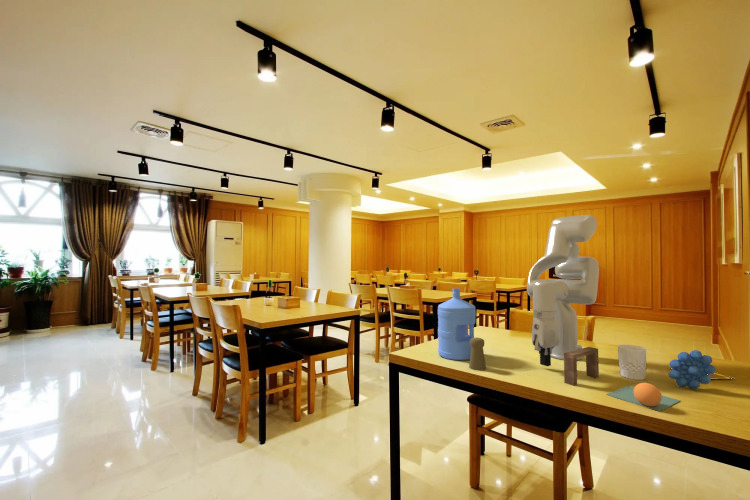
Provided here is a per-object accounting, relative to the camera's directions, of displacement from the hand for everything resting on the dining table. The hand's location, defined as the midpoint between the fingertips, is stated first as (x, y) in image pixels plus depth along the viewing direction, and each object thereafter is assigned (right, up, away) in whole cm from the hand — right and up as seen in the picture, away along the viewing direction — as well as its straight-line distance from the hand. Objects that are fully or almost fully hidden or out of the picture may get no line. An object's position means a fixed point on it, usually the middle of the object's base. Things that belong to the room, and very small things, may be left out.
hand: (545, 365), depth 124 cm
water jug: (-28, -2, +18) cm, 34 cm away
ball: (+12, +2, -31) cm, 33 cm away
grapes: (+36, -1, -19) cm, 41 cm away
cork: (-24, -2, +2) cm, 24 cm away
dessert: (+51, -2, -6) cm, 51 cm away
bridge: (+6, -1, -11) cm, 13 cm away
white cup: (+26, -1, -8) cm, 27 cm away
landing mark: (+15, -1, -26) cm, 30 cm away
